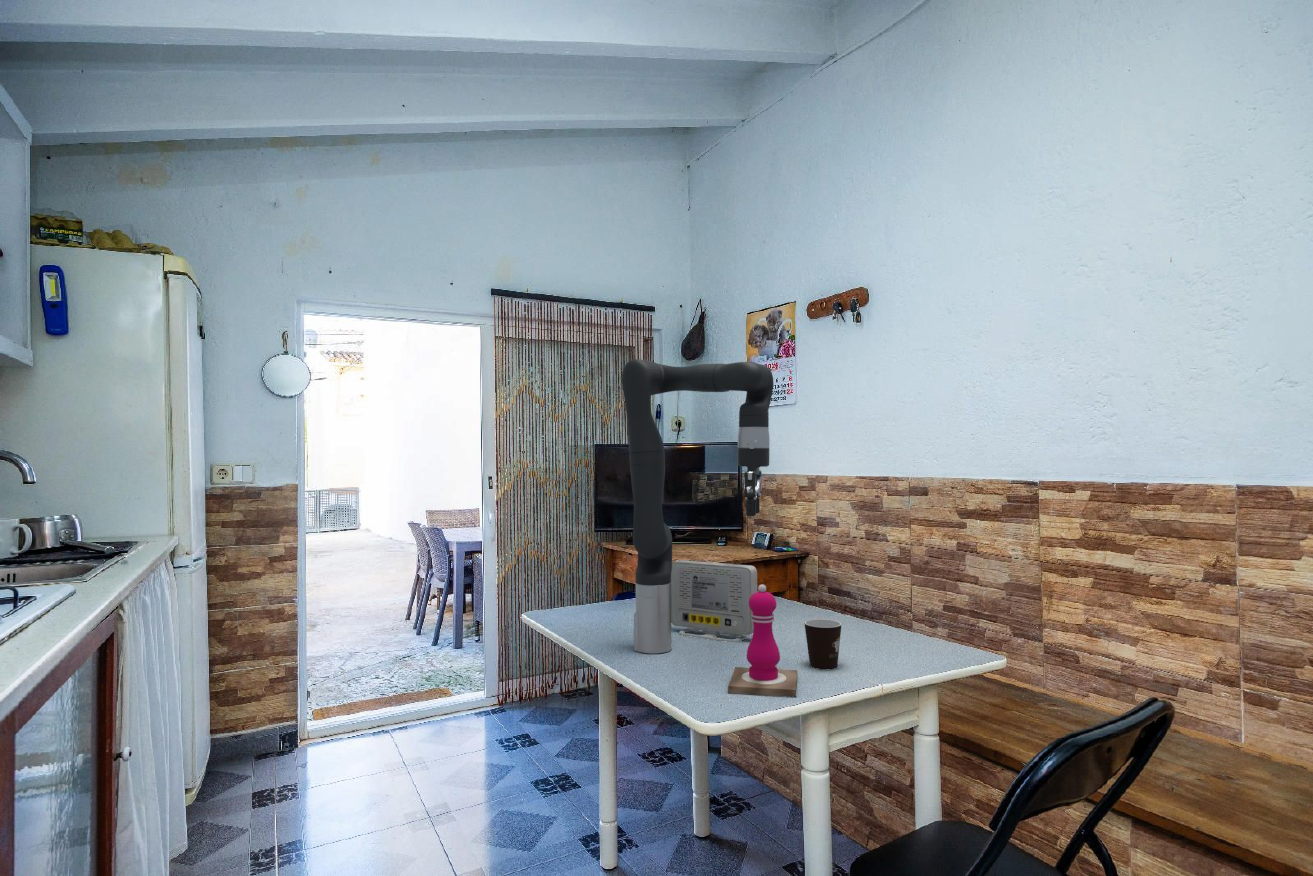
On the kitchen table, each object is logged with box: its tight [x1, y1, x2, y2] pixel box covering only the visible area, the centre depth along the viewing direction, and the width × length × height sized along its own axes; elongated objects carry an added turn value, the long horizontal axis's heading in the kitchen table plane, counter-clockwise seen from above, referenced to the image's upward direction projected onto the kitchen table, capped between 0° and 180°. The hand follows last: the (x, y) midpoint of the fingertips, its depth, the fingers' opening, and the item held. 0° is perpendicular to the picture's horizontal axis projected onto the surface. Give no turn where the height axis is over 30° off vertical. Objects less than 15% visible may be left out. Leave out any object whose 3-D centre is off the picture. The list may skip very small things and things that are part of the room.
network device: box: [671, 559, 758, 643], centre depth 200 cm, size 26×9×20 cm, turn 58°
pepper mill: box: [746, 584, 781, 681], centre depth 157 cm, size 7×7×20 cm
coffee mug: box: [804, 618, 843, 670], centre depth 171 cm, size 12×9×10 cm
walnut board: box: [727, 666, 798, 698], centre depth 156 cm, size 14×14×2 cm
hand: (752, 514), depth 170 cm, fingers open, 8 cm apart
